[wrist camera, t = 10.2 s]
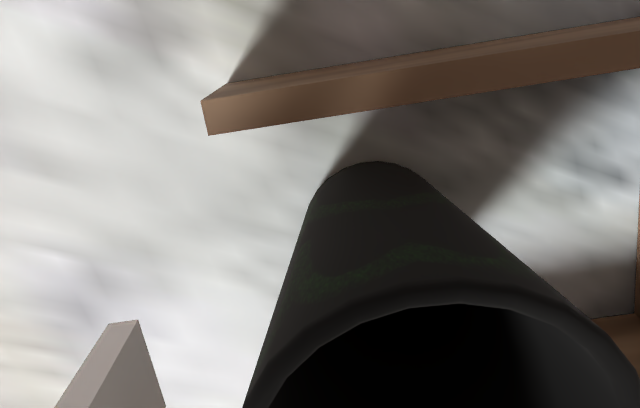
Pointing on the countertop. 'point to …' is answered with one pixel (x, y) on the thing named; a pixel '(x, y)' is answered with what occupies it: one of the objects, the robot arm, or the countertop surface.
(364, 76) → the comb rack
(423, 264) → the cup
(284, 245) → the countertop surface
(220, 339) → the countertop surface
